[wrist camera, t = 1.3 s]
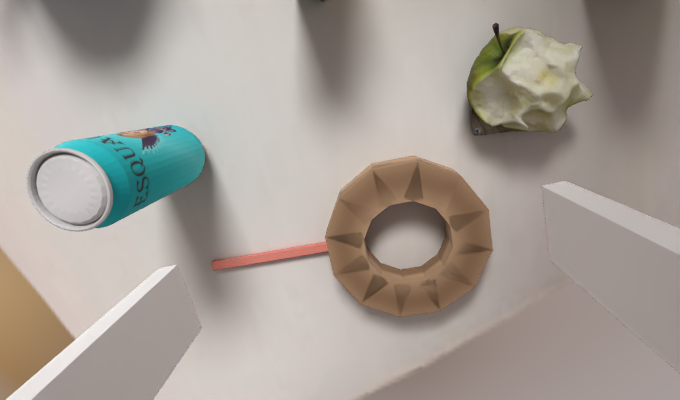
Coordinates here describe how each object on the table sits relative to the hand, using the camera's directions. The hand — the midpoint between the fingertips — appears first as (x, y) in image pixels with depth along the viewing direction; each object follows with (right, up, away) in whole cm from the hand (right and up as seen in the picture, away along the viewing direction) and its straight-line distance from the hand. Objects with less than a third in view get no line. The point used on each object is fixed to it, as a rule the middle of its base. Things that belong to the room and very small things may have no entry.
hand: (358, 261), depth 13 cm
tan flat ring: (+6, -1, +25) cm, 25 cm away
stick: (-8, -4, +26) cm, 27 cm away
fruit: (+15, +13, +20) cm, 28 cm away
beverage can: (-16, +7, +24) cm, 29 cm away
